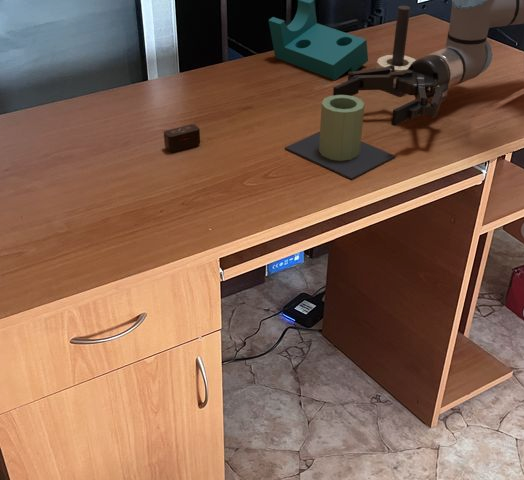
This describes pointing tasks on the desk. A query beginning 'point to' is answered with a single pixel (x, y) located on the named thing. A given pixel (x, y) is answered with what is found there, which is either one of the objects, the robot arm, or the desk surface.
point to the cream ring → (387, 61)
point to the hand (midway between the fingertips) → (363, 106)
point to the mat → (347, 168)
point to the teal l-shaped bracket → (316, 44)
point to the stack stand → (400, 40)
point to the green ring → (341, 127)
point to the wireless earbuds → (182, 138)
